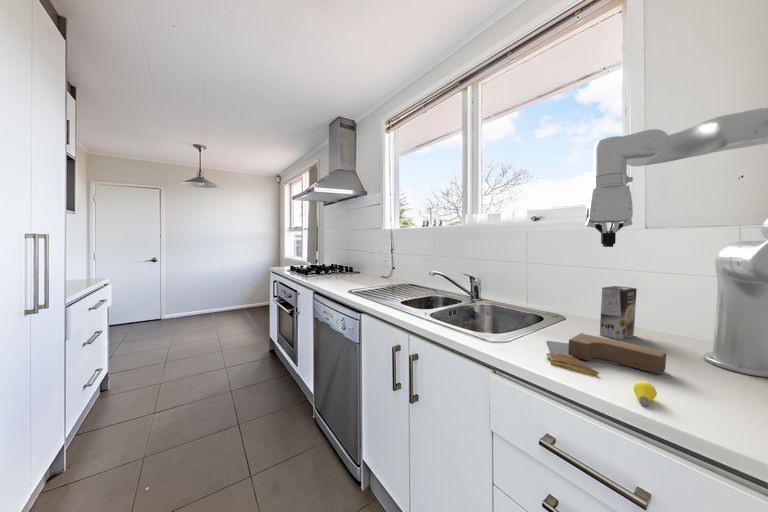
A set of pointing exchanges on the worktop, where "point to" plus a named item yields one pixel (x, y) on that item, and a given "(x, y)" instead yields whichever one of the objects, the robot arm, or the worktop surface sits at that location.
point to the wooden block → (617, 353)
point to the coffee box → (618, 312)
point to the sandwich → (570, 363)
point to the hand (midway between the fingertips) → (608, 246)
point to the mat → (564, 347)
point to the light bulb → (644, 392)
